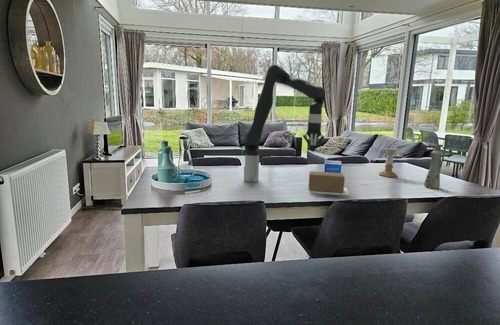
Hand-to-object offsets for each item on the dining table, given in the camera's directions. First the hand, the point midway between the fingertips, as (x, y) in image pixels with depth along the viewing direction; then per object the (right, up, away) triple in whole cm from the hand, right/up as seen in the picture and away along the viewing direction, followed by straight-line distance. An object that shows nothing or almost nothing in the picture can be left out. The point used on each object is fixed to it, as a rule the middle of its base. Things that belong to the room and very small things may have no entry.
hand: (312, 151), depth 191 cm
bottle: (+79, -23, +16) cm, 84 cm away
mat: (+10, -23, +3) cm, 26 cm away
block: (-2, -17, +4) cm, 18 cm away
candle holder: (+64, -16, +46) cm, 81 cm away
